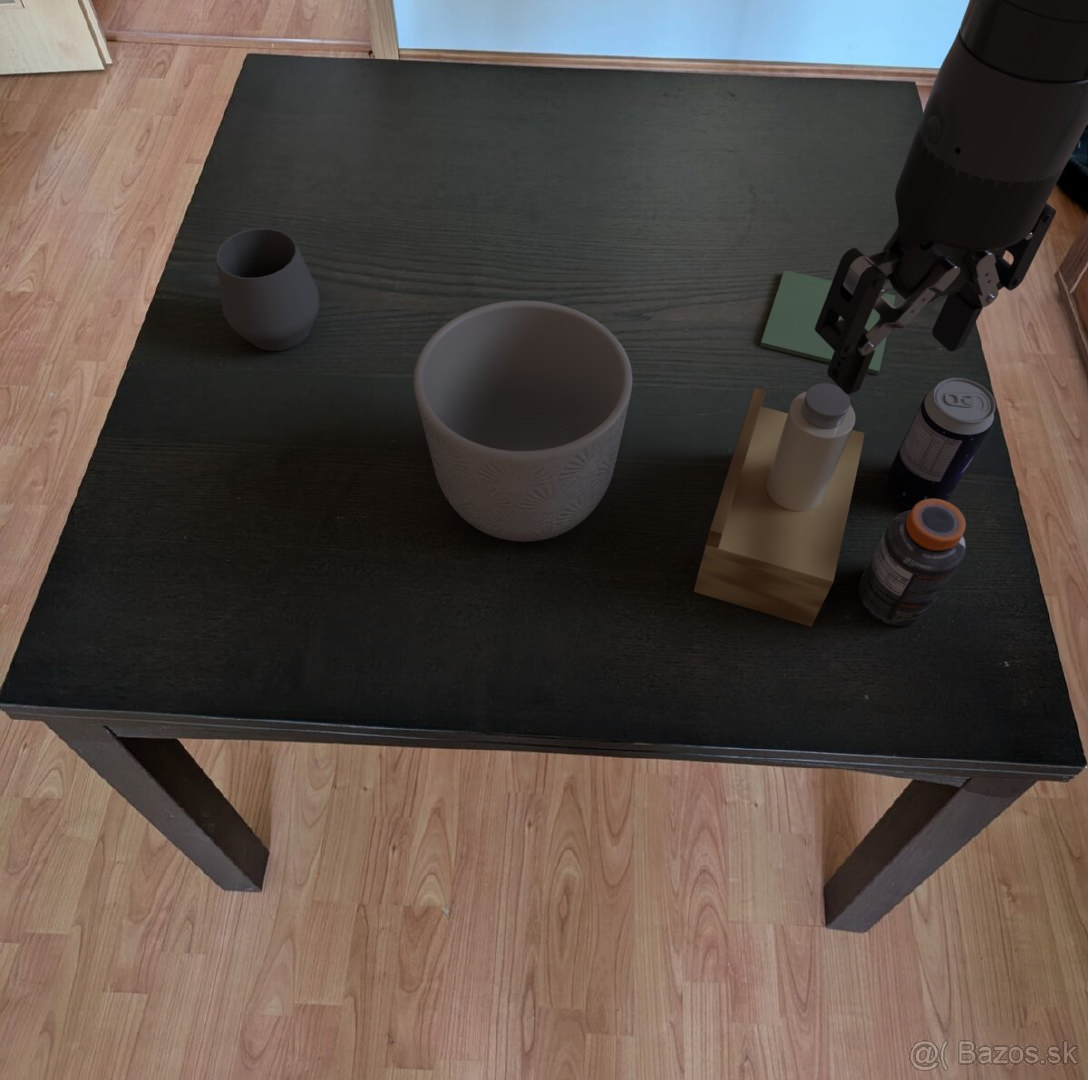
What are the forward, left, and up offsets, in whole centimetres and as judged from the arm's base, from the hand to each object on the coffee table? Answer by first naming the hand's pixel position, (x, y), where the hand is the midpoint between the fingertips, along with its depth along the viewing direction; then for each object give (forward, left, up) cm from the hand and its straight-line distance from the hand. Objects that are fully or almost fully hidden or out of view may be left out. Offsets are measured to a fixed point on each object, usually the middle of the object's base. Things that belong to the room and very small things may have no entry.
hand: (895, 362), depth 61 cm
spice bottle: (+3, -2, -17) cm, 17 cm away
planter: (+26, +1, -24) cm, 35 cm away
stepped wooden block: (+4, -2, -24) cm, 24 cm away
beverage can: (-8, -11, -24) cm, 28 cm away
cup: (+57, -10, -24) cm, 62 cm away
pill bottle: (-7, +1, -24) cm, 25 cm away
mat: (+4, -31, -24) cm, 39 cm away
